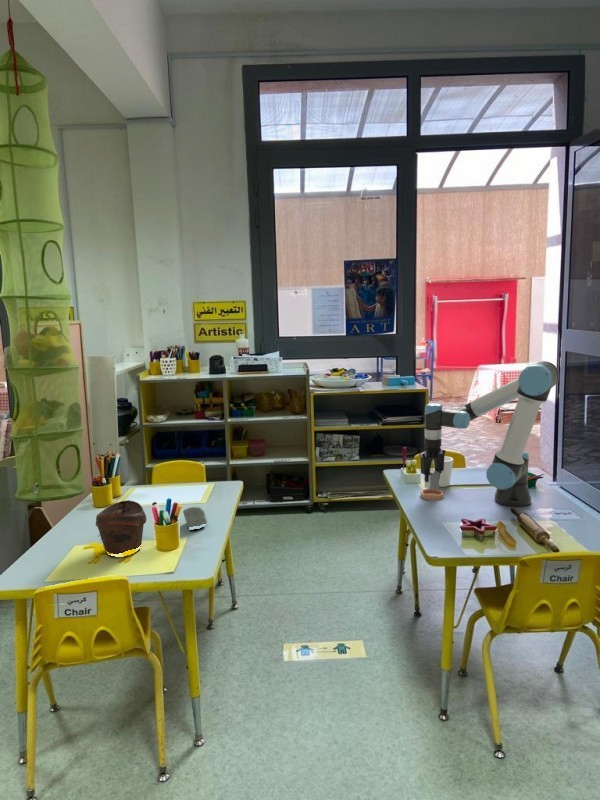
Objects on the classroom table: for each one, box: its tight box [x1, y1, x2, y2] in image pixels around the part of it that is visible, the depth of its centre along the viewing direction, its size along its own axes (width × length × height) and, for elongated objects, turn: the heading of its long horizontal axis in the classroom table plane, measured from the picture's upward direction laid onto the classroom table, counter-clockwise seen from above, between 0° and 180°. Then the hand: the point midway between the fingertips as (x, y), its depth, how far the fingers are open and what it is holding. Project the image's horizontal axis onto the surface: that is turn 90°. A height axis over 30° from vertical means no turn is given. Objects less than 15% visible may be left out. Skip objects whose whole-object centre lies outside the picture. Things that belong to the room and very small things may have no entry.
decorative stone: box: [182, 506, 208, 528], centre depth 229 cm, size 13×11×10 cm
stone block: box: [429, 468, 440, 490], centre depth 254 cm, size 5×4×8 cm
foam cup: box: [432, 455, 454, 488], centre depth 270 cm, size 10×9×13 cm
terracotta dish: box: [420, 488, 445, 501], centre depth 255 cm, size 10×10×2 cm
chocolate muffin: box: [95, 499, 148, 559], centre depth 207 cm, size 18×20×18 cm
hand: (432, 487), depth 255 cm, fingers closed on stone block, 4 cm apart
